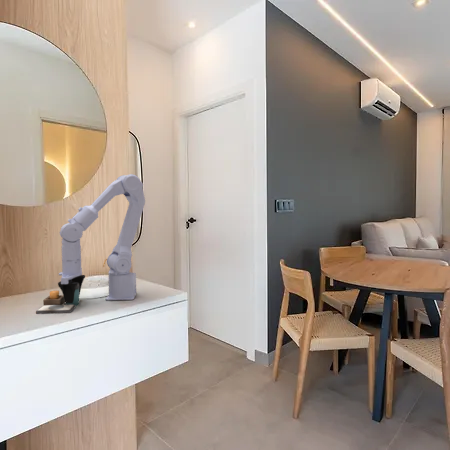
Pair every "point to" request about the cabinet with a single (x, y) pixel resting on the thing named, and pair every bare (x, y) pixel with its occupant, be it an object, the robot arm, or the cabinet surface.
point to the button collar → (54, 301)
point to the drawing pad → (55, 309)
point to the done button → (54, 294)
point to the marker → (75, 297)
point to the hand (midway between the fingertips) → (72, 299)
